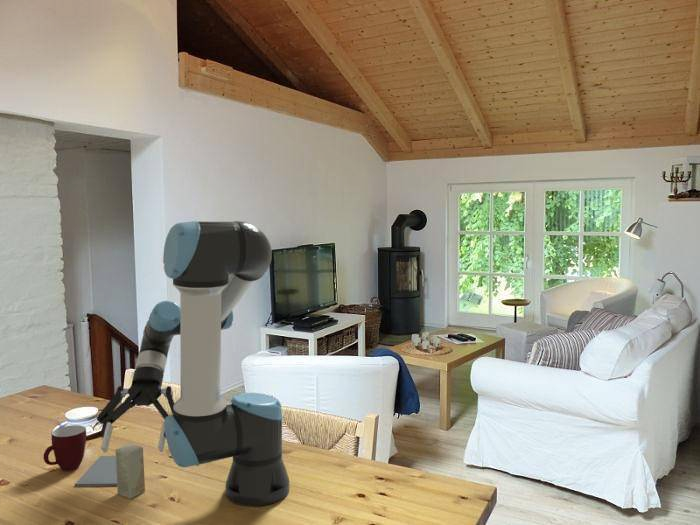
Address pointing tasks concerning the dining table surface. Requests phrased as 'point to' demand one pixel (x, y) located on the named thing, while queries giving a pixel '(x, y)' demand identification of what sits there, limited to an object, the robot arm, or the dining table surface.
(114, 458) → the mat
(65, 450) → the mug
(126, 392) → the robot arm
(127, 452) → the box
